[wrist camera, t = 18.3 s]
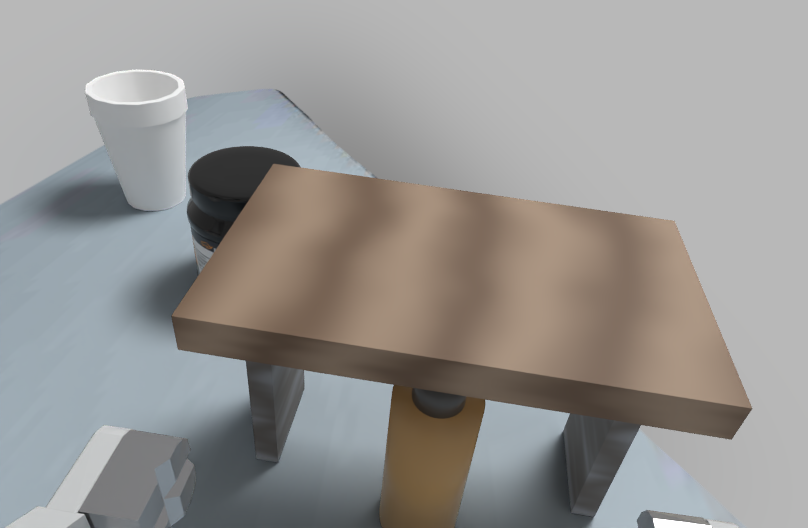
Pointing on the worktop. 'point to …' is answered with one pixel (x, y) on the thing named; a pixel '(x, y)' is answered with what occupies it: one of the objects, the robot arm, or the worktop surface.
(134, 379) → the worktop surface
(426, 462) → the amber bottle
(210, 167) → the supplement container
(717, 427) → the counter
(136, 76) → the foam cup
